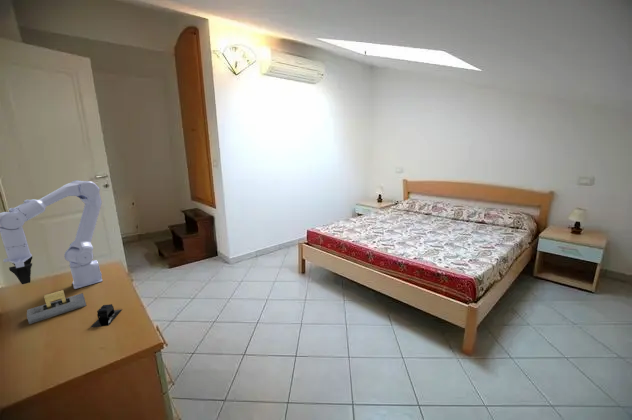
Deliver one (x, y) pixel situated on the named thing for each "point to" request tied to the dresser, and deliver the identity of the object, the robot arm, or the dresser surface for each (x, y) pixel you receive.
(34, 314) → the rail
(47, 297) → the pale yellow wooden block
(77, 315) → the dresser surface
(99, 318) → the black mounted block
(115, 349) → the dresser surface
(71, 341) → the dresser surface
